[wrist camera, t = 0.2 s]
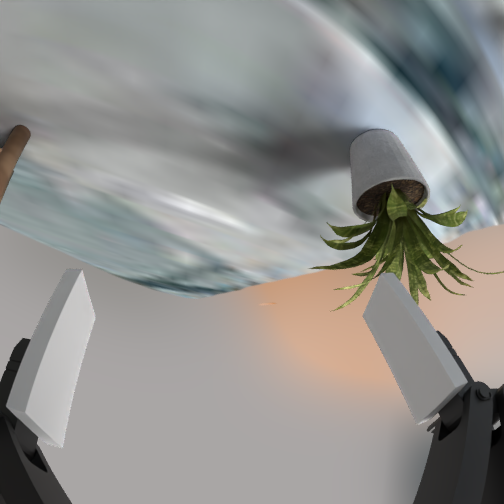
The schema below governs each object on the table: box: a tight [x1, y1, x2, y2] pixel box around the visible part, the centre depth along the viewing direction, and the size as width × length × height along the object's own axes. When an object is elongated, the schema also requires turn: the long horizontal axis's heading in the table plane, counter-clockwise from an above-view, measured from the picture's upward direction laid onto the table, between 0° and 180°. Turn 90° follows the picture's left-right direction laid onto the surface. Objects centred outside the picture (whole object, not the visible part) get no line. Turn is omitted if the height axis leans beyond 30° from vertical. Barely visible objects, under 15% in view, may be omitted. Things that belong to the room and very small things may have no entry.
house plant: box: [308, 129, 504, 310], centre depth 20 cm, size 14×14×16 cm
